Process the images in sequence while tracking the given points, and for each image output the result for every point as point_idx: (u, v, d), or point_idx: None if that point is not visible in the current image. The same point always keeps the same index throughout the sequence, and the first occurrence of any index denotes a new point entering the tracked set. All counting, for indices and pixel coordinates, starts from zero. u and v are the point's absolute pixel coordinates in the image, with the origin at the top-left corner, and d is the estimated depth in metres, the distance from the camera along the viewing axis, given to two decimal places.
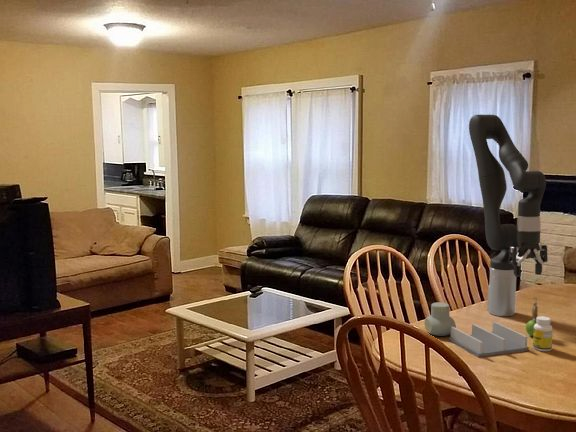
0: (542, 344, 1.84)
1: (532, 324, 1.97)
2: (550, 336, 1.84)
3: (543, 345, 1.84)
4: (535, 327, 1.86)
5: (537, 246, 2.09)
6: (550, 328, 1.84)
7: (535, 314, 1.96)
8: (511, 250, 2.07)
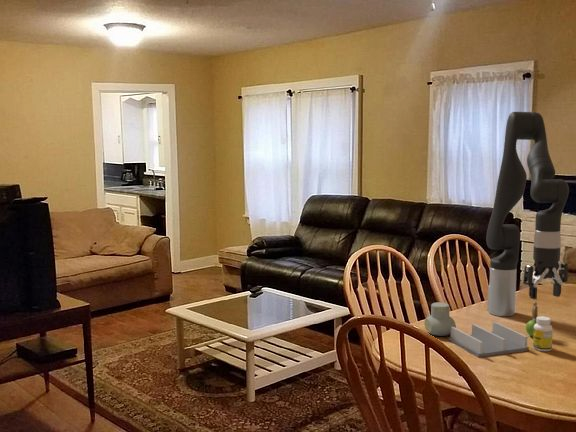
0: (542, 343, 1.84)
1: (532, 324, 1.97)
2: (550, 336, 1.84)
3: (543, 345, 1.84)
4: (535, 327, 1.86)
5: (556, 264, 1.84)
6: (550, 328, 1.84)
7: (535, 314, 1.96)
8: (527, 269, 1.82)
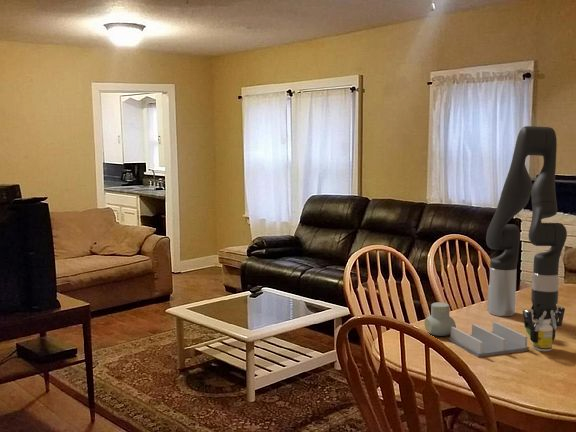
0: (542, 343, 1.84)
1: None
2: (550, 336, 1.84)
3: (543, 344, 1.84)
4: None
5: (554, 306, 1.85)
6: (550, 328, 1.84)
7: None
8: (525, 314, 1.84)
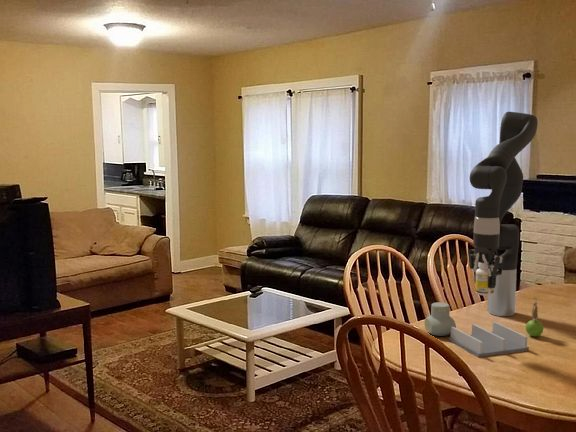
0: None
1: (532, 324, 1.97)
2: (479, 280, 1.85)
3: None
4: None
5: (489, 253, 1.82)
6: (480, 272, 1.84)
7: (535, 314, 1.96)
8: None
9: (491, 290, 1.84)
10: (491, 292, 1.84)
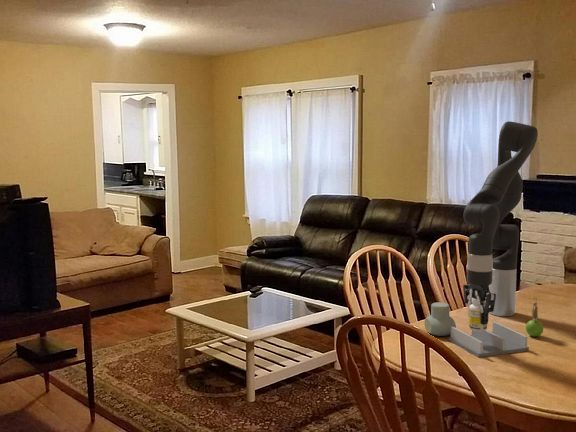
0: (469, 320, 1.89)
1: (532, 324, 1.97)
2: (472, 315, 1.87)
3: (469, 321, 1.89)
4: None
5: (482, 289, 1.84)
6: (472, 307, 1.86)
7: (535, 314, 1.96)
8: None
9: (484, 326, 1.86)
10: (484, 328, 1.86)
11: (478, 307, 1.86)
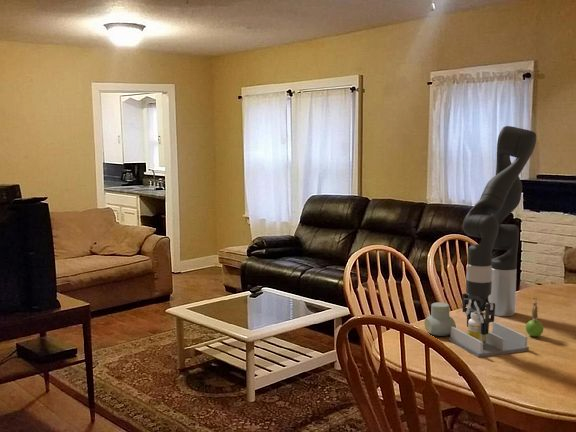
0: None
1: (532, 324, 1.97)
2: (471, 330, 1.88)
3: None
4: None
5: (481, 300, 1.84)
6: (471, 322, 1.87)
7: (535, 314, 1.96)
8: None
9: (482, 341, 1.87)
10: None
11: (477, 322, 1.86)
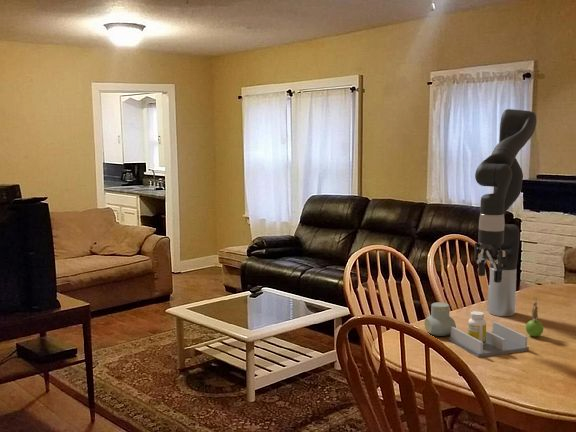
0: None
1: (532, 324, 1.97)
2: (471, 330, 1.88)
3: None
4: None
5: (493, 249, 1.85)
6: (471, 322, 1.87)
7: (535, 314, 1.96)
8: None
9: (482, 341, 1.87)
10: None
11: (477, 322, 1.86)
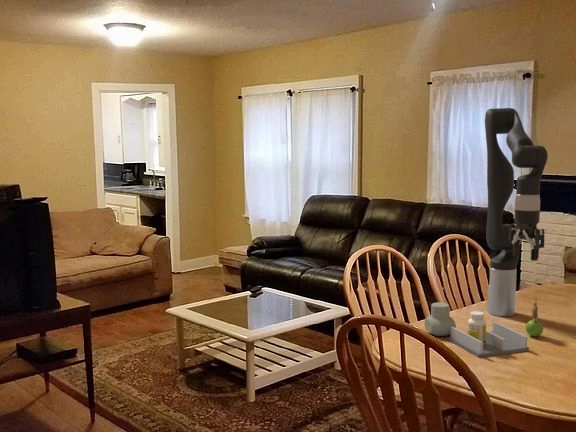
0: None
1: (532, 324, 1.97)
2: (471, 330, 1.88)
3: None
4: None
5: (529, 228, 1.91)
6: (471, 322, 1.87)
7: (535, 314, 1.96)
8: None
9: (482, 341, 1.87)
10: None
11: (477, 322, 1.86)
